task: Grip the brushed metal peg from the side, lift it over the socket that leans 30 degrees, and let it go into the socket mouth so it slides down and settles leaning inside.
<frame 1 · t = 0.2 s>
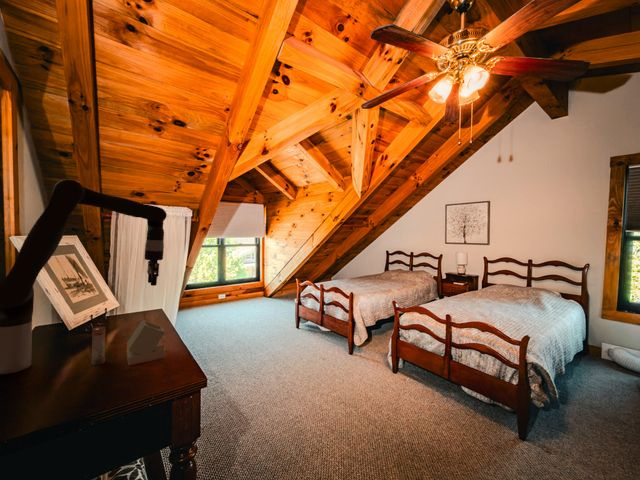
hand: (152, 284, 131), 28 cm above the table, tool pointing down, fingers open, 8 cm apart
peg: (98, 362, 111), on the table
socket: (146, 356, 119), on the table
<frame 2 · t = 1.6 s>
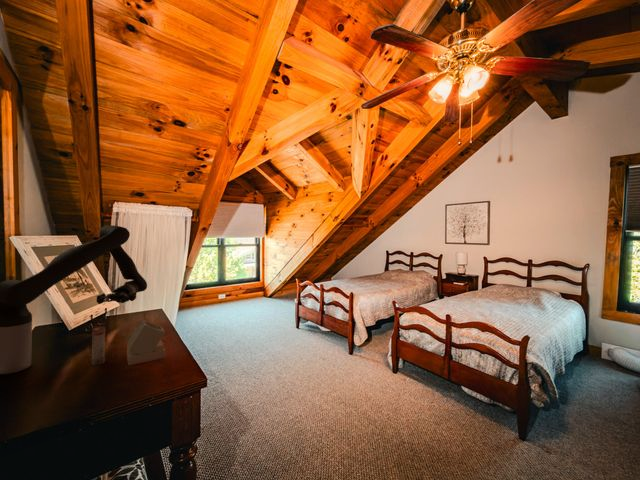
hand: (110, 301, 121), 22 cm above the table, tool horizontal, fingers open, 8 cm apart
nothing on the table moved.
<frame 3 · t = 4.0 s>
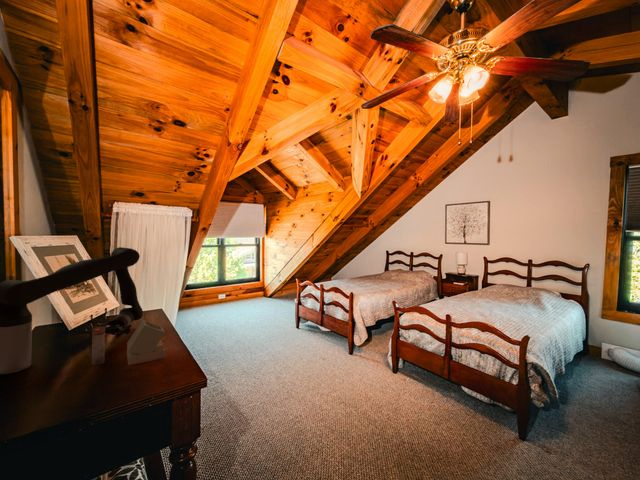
hand: (105, 336, 117), 8 cm above the table, tool horizontal, fingers open, 8 cm apart
nothing on the table moved.
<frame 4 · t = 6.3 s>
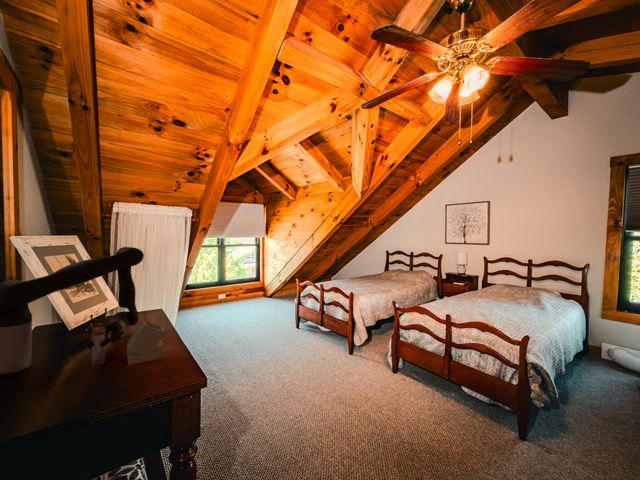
hand: (95, 344, 109), 8 cm above the table, tool horizontal, fingers closed on peg, 4 cm apart
peg: (98, 362, 111), on the table, touching gripper
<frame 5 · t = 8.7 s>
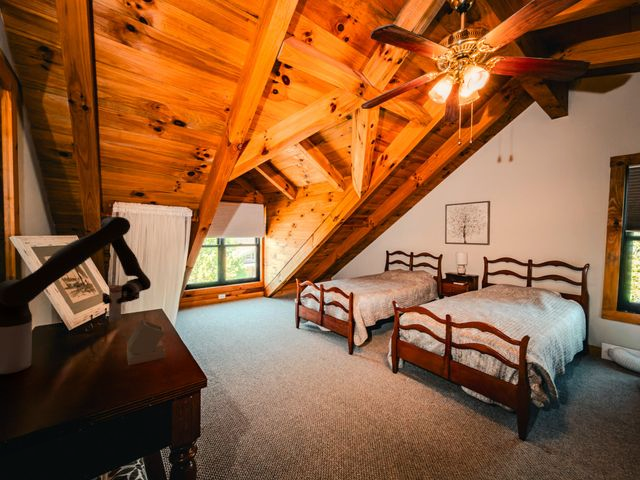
hand: (112, 301, 111), 25 cm above the table, tool horizontal, fingers closed on peg, 4 cm apart
peg: (114, 320, 114), point 17 cm above the table, touching gripper
when the fingers open (20 cm above the table, at t = 11.1 s): peg drops 8 cm and tips over, resting on socket.
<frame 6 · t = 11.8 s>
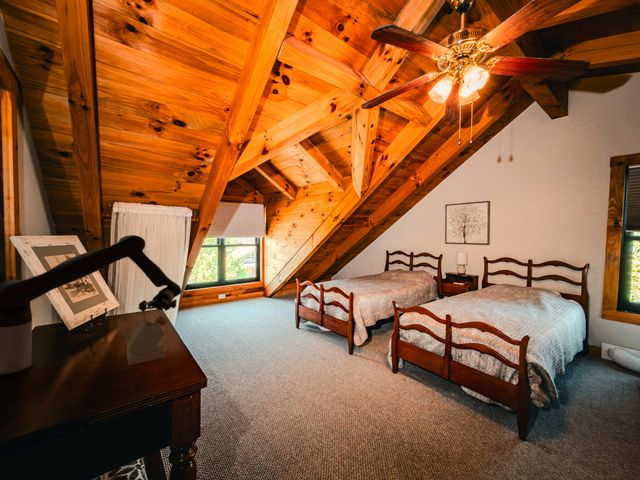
hand: (154, 308, 118), 21 cm above the table, tool horizontal, fingers open, 8 cm apart
peg: (139, 347, 118), point 4 cm above the table, tilted 39°, touching socket
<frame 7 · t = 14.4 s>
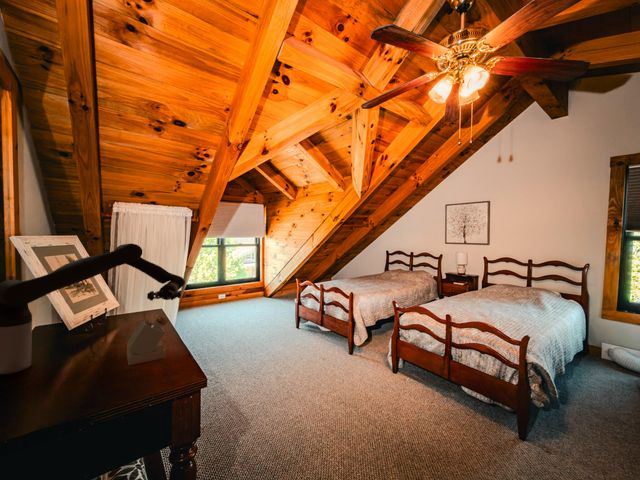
hand: (161, 298, 130), 22 cm above the table, tool horizontal, fingers open, 8 cm apart
nothing on the table moved.
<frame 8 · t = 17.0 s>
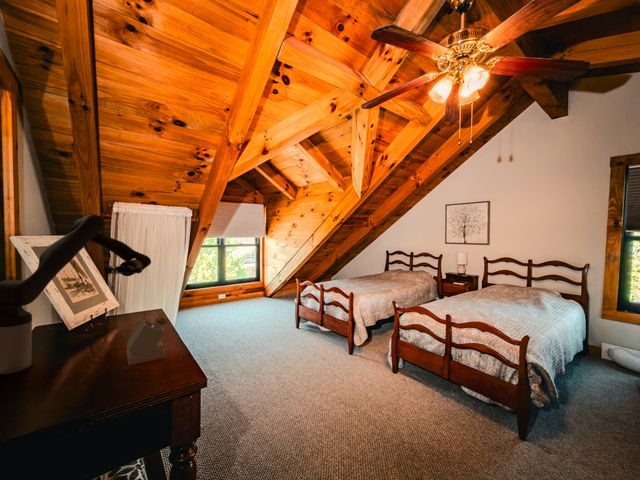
hand: (118, 272, 126), 34 cm above the table, tool horizontal, fingers open, 8 cm apart
nothing on the table moved.
at the end: peg inside the target area on the socket (1.2 cm from its centre), point 4.3 cm above the socket's base; peg tilted 39°; the gripper is holding nothing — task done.
